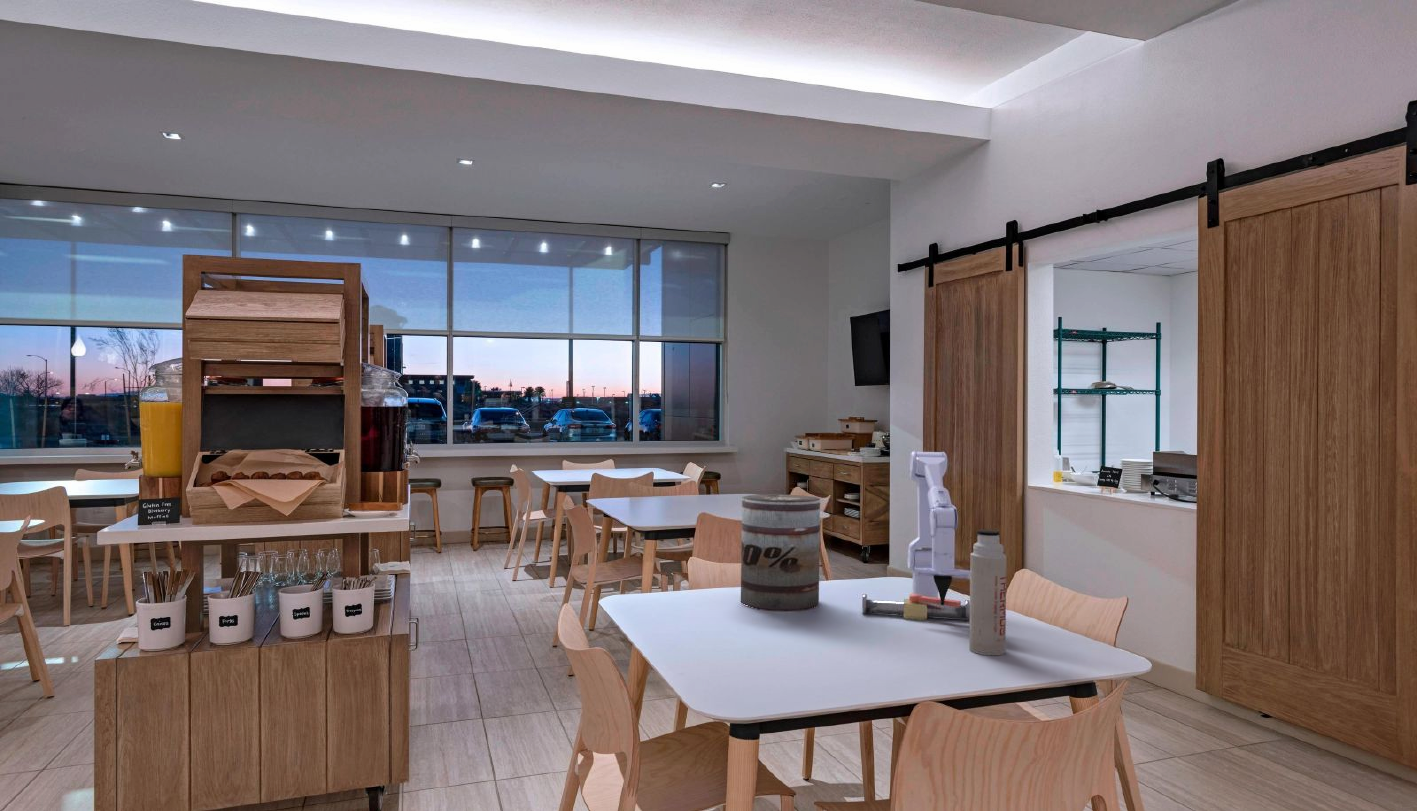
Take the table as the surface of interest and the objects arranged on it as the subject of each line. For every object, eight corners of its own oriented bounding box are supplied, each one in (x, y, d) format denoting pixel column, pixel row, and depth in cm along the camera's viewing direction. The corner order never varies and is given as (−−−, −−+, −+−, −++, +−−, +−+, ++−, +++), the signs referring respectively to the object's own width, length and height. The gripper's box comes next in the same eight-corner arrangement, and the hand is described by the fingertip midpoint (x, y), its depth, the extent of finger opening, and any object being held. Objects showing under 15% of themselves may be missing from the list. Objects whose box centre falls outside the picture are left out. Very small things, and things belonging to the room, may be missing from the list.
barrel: (724, 599, 250) (726, 496, 251) (782, 590, 264) (783, 493, 264) (776, 615, 232) (777, 504, 233) (835, 604, 246) (836, 499, 246)
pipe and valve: (863, 610, 239) (863, 591, 239) (968, 617, 233) (968, 598, 233) (862, 615, 233) (862, 596, 233) (969, 622, 227) (970, 602, 227)
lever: (907, 600, 232) (907, 595, 232) (911, 598, 235) (911, 593, 235) (957, 607, 225) (957, 602, 225) (961, 605, 228) (961, 600, 228)
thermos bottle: (1012, 653, 198) (1014, 531, 198) (987, 657, 195) (988, 533, 195) (987, 644, 205) (988, 527, 206) (961, 648, 202) (963, 529, 202)
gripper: (914, 553, 224) (914, 605, 224) (973, 556, 221) (972, 609, 221) (914, 549, 231) (914, 600, 231) (971, 552, 228) (970, 603, 228)
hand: (942, 604), depth 226 cm, fingers closed, pressing on lever
